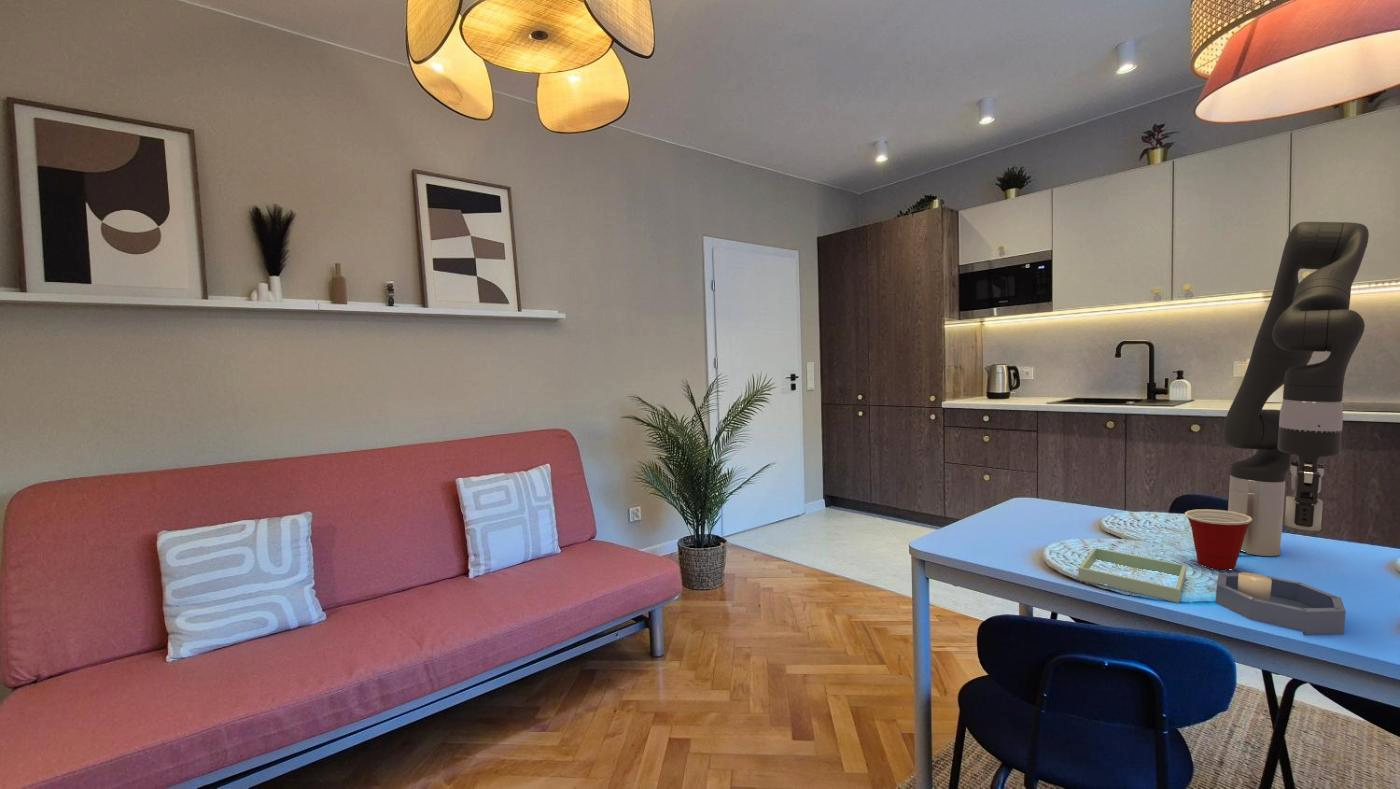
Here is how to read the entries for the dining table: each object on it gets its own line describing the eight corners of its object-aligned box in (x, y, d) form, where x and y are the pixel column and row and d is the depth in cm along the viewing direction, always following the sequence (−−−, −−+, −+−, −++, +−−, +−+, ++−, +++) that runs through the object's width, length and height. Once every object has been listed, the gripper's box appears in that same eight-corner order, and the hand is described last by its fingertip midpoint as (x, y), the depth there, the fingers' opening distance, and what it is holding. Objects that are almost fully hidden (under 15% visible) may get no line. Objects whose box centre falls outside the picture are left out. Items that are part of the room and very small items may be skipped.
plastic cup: (1175, 555, 132) (1178, 504, 131) (1236, 563, 127) (1240, 510, 126) (1190, 572, 122) (1193, 517, 121) (1257, 581, 117) (1261, 524, 116)
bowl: (1218, 586, 115) (1219, 566, 115) (1336, 610, 104) (1338, 589, 104) (1214, 613, 104) (1215, 592, 103) (1347, 644, 93) (1349, 620, 92)
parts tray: (1093, 560, 130) (1093, 547, 129) (1185, 579, 119) (1186, 565, 118) (1077, 581, 118) (1078, 567, 118) (1178, 605, 107) (1179, 589, 107)
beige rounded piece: (1284, 521, 104) (1286, 494, 103) (1319, 526, 101) (1321, 498, 100) (1284, 526, 101) (1286, 499, 100) (1321, 532, 98) (1323, 503, 97)
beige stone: (1237, 596, 109) (1239, 570, 108) (1270, 603, 106) (1272, 576, 105) (1236, 603, 106) (1237, 576, 105) (1269, 610, 103) (1271, 583, 102)
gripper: (1346, 433, 91) (1338, 537, 93) (1338, 423, 102) (1330, 517, 103) (1279, 429, 97) (1272, 527, 98) (1278, 420, 107) (1272, 510, 108)
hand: (1302, 522), depth 101 cm, fingers closed on beige rounded piece, 4 cm apart
